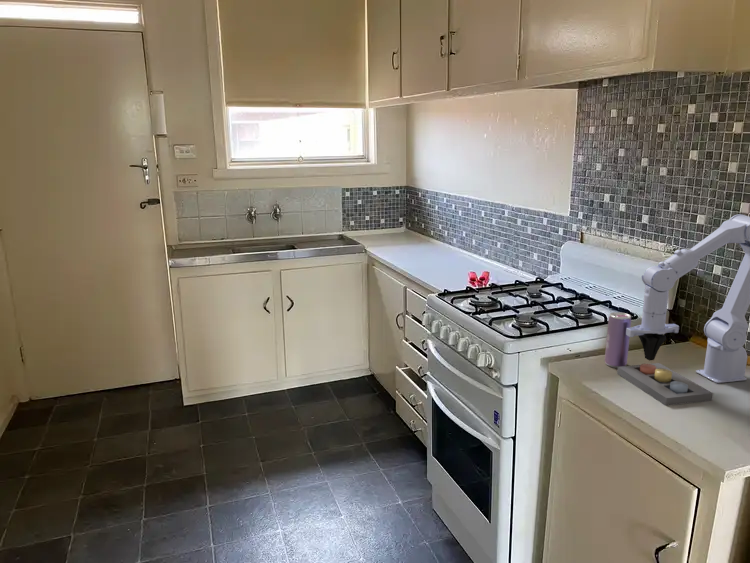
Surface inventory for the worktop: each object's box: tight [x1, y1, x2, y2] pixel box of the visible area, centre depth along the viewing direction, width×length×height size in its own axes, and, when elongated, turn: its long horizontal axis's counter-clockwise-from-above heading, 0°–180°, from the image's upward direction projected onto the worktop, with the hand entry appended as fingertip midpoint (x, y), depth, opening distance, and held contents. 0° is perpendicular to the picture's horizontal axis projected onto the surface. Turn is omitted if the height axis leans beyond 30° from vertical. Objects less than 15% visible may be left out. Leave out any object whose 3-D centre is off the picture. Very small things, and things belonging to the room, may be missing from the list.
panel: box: [616, 362, 714, 406], centre depth 150 cm, size 13×20×2 cm, turn 11°
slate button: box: [670, 381, 688, 394], centre depth 144 cm, size 4×4×2 cm
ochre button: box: [654, 368, 672, 382], centre depth 150 cm, size 4×4×2 cm
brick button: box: [639, 363, 656, 375], centre depth 156 cm, size 4×4×2 cm
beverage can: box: [604, 311, 632, 369], centre depth 163 cm, size 6×6×15 cm
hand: (649, 359), depth 155 cm, fingers closed
